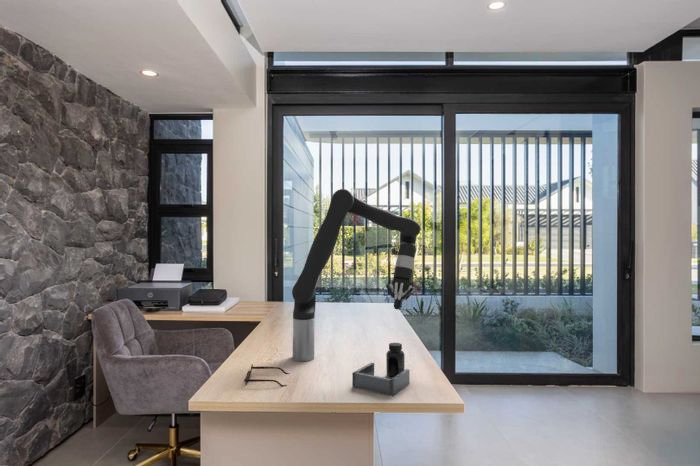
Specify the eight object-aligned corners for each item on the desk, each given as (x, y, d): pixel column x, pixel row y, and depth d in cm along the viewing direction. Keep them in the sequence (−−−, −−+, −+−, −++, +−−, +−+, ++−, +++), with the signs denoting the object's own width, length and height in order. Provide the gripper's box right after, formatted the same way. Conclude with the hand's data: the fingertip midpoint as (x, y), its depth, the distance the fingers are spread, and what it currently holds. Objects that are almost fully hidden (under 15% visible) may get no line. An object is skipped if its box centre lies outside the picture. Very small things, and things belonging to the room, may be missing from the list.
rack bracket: (371, 375, 159) (371, 362, 159) (409, 383, 152) (409, 369, 152) (352, 387, 147) (352, 372, 147) (392, 396, 140) (392, 380, 140)
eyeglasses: (250, 374, 161) (250, 361, 161) (290, 374, 162) (290, 361, 162) (243, 388, 146) (244, 374, 146) (287, 388, 147) (287, 373, 147)
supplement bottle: (403, 373, 163) (403, 341, 163) (405, 379, 156) (406, 346, 156) (385, 373, 163) (385, 341, 163) (387, 379, 156) (387, 346, 156)
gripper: (386, 264, 177) (378, 305, 173) (415, 267, 169) (407, 310, 165) (394, 268, 183) (386, 308, 179) (422, 271, 175) (415, 313, 171)
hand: (397, 309), depth 172 cm, fingers closed
